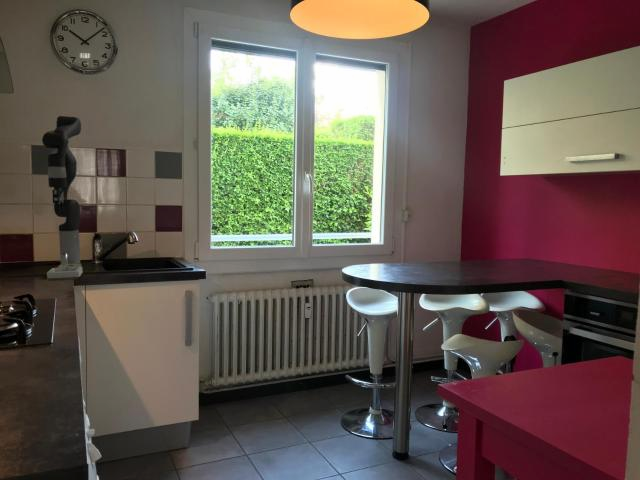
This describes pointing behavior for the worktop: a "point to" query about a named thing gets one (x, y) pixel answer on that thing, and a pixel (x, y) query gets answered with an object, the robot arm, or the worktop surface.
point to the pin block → (70, 265)
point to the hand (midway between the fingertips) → (59, 212)
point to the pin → (64, 262)
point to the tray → (64, 273)
